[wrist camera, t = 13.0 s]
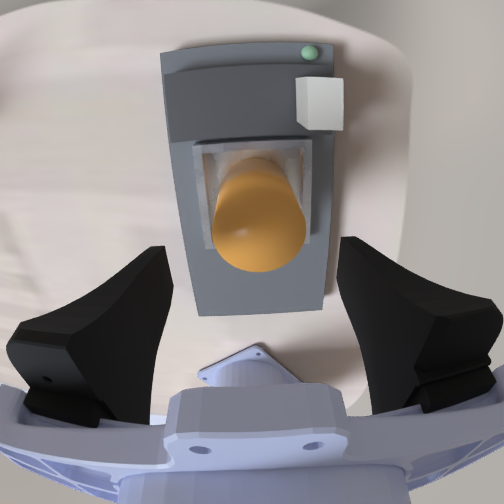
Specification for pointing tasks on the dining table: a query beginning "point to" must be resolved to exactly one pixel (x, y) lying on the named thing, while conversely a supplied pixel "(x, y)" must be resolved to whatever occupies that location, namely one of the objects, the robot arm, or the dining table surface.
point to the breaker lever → (320, 103)
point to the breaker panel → (247, 127)
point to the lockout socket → (232, 151)
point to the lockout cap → (257, 217)
